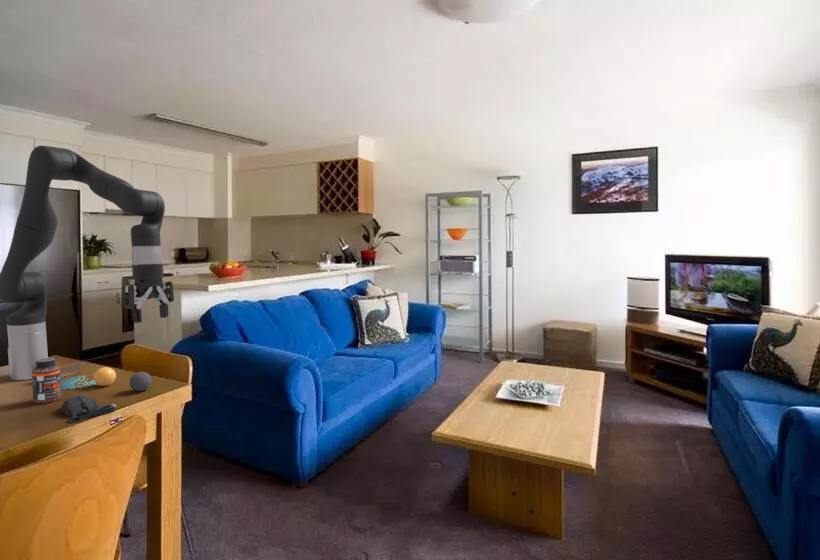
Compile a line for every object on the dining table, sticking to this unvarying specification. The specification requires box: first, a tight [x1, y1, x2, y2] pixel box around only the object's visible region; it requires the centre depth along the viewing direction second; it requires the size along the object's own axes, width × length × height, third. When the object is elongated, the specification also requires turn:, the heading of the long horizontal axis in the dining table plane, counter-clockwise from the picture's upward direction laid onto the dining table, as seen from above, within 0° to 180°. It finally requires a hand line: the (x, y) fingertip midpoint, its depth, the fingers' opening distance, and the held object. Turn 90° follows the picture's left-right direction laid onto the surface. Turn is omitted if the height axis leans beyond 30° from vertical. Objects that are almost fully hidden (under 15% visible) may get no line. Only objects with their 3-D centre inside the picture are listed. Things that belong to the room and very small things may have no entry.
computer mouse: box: [61, 394, 117, 424], centre depth 113 cm, size 10×15×4 cm
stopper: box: [59, 362, 81, 379], centre depth 140 cm, size 2×12×3 cm, turn 162°
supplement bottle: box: [31, 357, 62, 404], centre depth 120 cm, size 6×6×11 cm
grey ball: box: [128, 371, 153, 392], centre depth 128 cm, size 6×6×6 cm
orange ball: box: [93, 366, 117, 387], centre depth 133 cm, size 6×6×6 cm
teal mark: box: [61, 374, 97, 391], centre depth 136 cm, size 14×14×1 cm
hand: (151, 320), depth 125 cm, fingers open, 8 cm apart
